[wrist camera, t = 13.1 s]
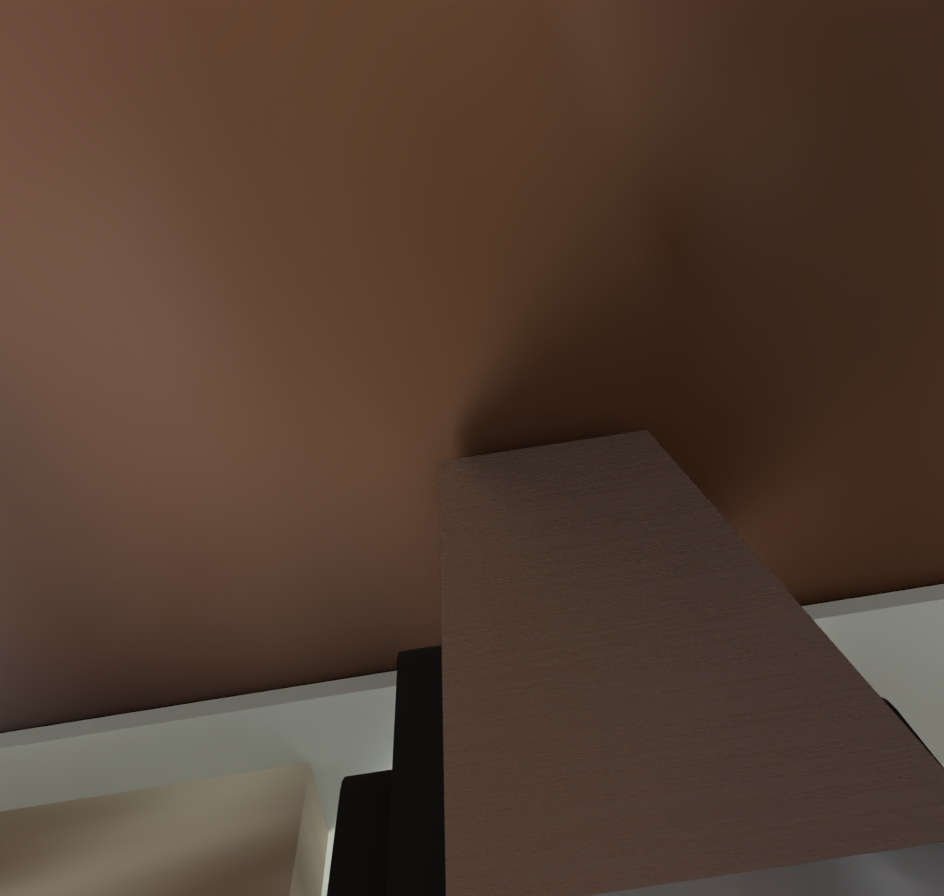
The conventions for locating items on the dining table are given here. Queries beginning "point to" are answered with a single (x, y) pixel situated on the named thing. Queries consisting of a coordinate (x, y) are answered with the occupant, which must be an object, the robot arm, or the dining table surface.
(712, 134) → the dining table surface
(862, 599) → the mat
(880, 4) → the dining table surface
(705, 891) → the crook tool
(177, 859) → the frame
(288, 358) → the dining table surface
